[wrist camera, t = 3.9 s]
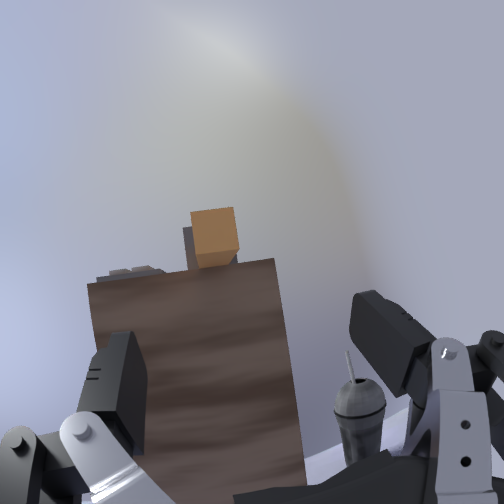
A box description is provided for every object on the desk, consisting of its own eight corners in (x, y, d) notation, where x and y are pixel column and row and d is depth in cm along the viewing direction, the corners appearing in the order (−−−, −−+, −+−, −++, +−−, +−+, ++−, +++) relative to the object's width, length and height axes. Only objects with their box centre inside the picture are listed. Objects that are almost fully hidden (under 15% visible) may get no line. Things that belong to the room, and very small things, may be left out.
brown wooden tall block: (312, 534, 21) (271, 245, 25) (174, 555, 18) (85, 270, 22) (290, 492, 31) (253, 259, 35) (177, 509, 28) (118, 278, 32)
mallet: (257, 246, 17) (246, 178, 17) (177, 257, 16) (170, 187, 16) (232, 271, 32) (226, 234, 33) (191, 276, 31) (186, 240, 32)
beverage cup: (394, 471, 29) (393, 345, 32) (348, 489, 28) (338, 361, 31) (374, 451, 36) (367, 338, 39) (332, 465, 36) (320, 350, 38)
